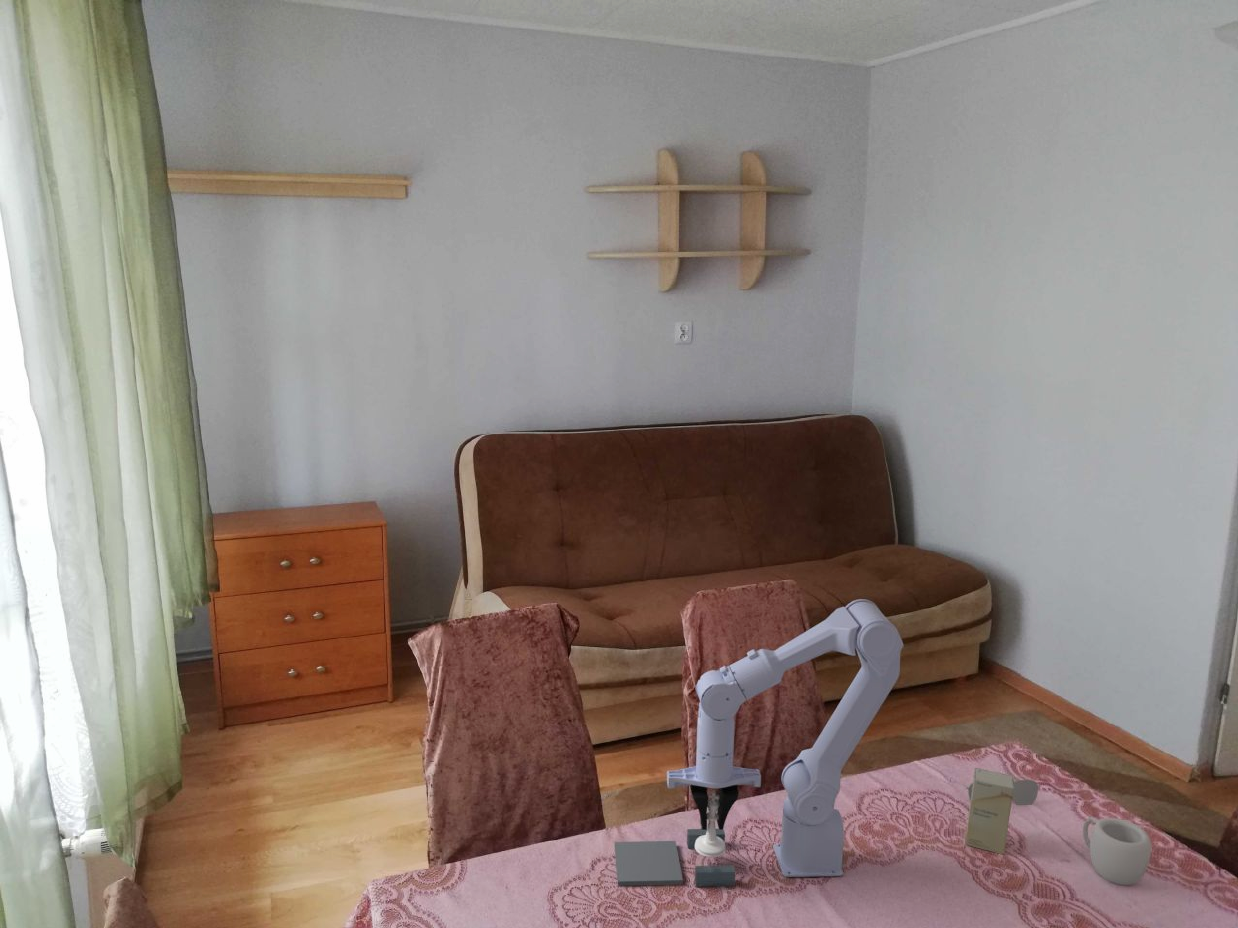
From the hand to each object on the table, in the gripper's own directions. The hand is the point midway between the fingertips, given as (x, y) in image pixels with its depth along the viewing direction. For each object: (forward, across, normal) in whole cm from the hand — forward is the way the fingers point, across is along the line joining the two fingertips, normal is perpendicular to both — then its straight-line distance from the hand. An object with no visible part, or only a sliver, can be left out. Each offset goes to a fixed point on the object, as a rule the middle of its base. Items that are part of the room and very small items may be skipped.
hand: (711, 825), depth 150 cm
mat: (+7, +10, 0) cm, 12 cm away
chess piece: (+4, 0, 0) cm, 4 cm away
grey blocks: (+7, 0, 0) cm, 7 cm away
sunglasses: (+8, -55, -19) cm, 59 cm away
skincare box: (+7, -47, -4) cm, 48 cm away
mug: (+7, -64, +3) cm, 64 cm away
